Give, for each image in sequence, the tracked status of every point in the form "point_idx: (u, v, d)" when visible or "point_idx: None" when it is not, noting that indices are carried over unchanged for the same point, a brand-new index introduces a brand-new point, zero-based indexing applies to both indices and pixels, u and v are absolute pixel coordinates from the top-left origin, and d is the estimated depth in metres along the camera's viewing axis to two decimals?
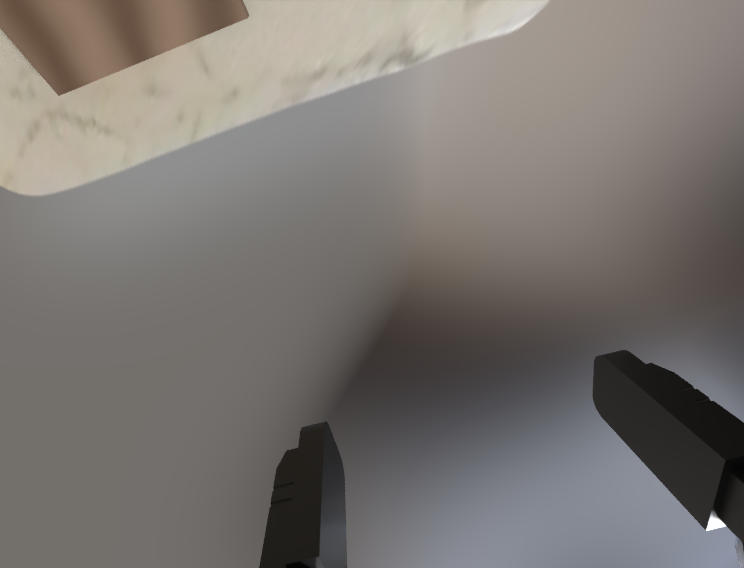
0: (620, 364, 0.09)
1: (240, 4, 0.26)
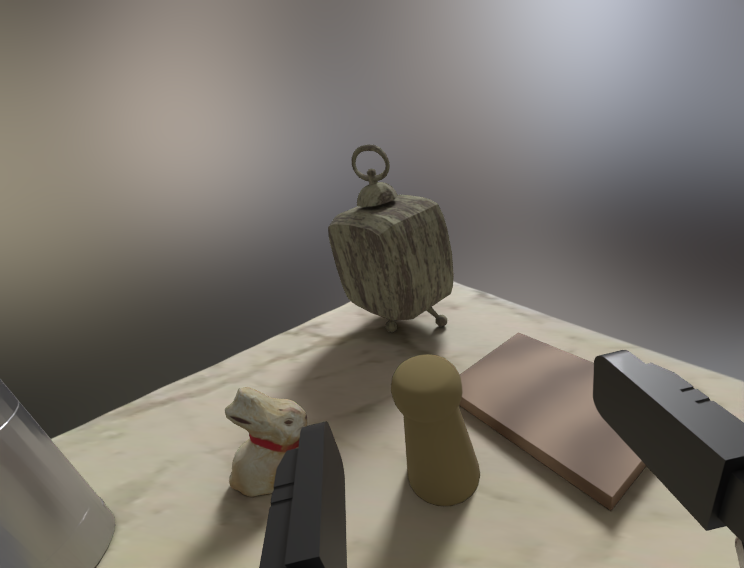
0: (620, 364, 0.09)
1: (514, 336, 0.42)
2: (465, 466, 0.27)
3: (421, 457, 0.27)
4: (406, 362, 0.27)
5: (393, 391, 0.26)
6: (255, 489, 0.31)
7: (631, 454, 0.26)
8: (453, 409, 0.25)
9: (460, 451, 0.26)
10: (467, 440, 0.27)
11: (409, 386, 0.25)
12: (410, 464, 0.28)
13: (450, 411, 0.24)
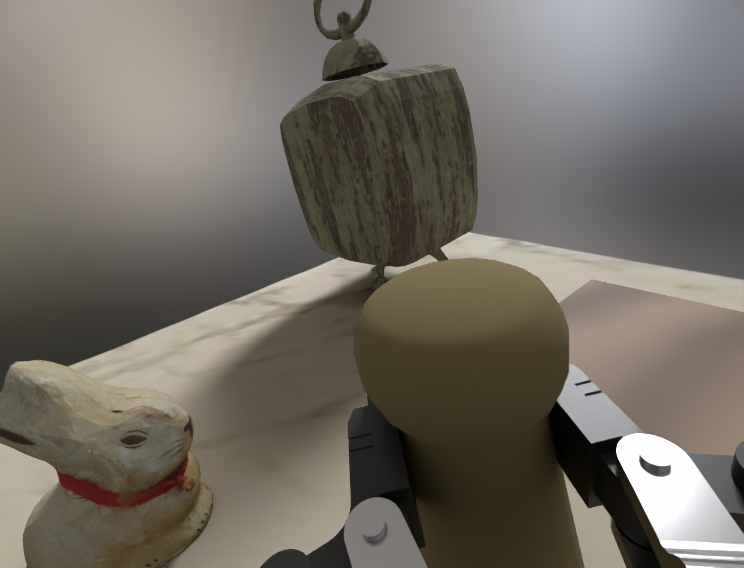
0: None
1: (586, 284, 0.25)
2: (563, 563, 0.10)
3: (443, 542, 0.09)
4: (398, 276, 0.10)
5: (357, 350, 0.08)
6: None
7: None
8: (552, 403, 0.07)
9: (555, 523, 0.09)
10: (565, 488, 0.10)
11: (405, 328, 0.07)
12: None
13: (543, 409, 0.07)
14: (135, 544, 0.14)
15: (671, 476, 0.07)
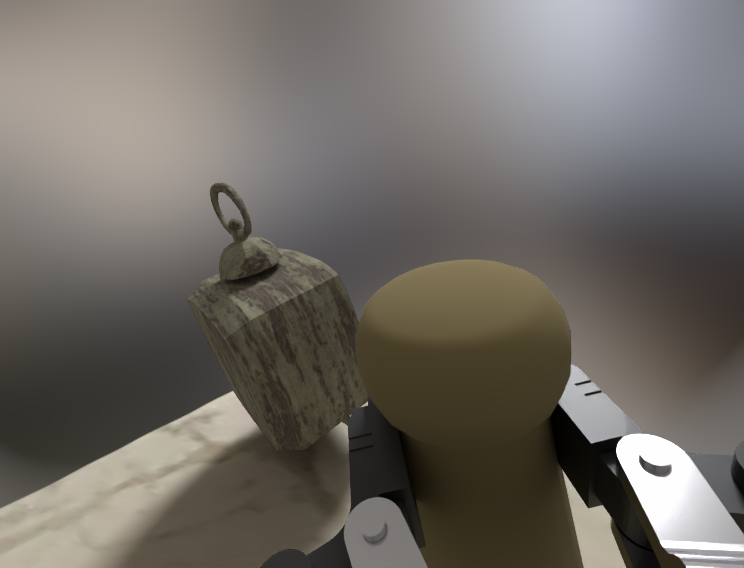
0: None
1: None
2: (563, 565, 0.10)
3: (443, 544, 0.09)
4: (399, 277, 0.10)
5: (358, 351, 0.08)
6: None
7: None
8: (553, 405, 0.07)
9: (555, 525, 0.09)
10: (565, 491, 0.10)
11: (407, 328, 0.07)
12: None
13: (545, 412, 0.07)
14: None
15: (671, 476, 0.07)
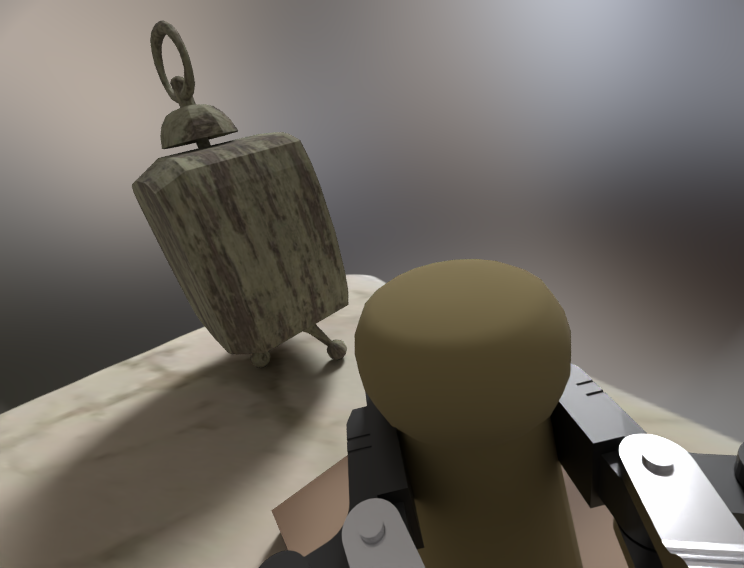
0: None
1: None
2: (563, 565, 0.10)
3: (442, 544, 0.09)
4: (399, 277, 0.10)
5: (358, 350, 0.08)
6: None
7: None
8: (553, 405, 0.07)
9: (555, 526, 0.09)
10: (565, 491, 0.10)
11: (406, 328, 0.07)
12: None
13: (545, 411, 0.07)
14: None
15: (674, 476, 0.07)
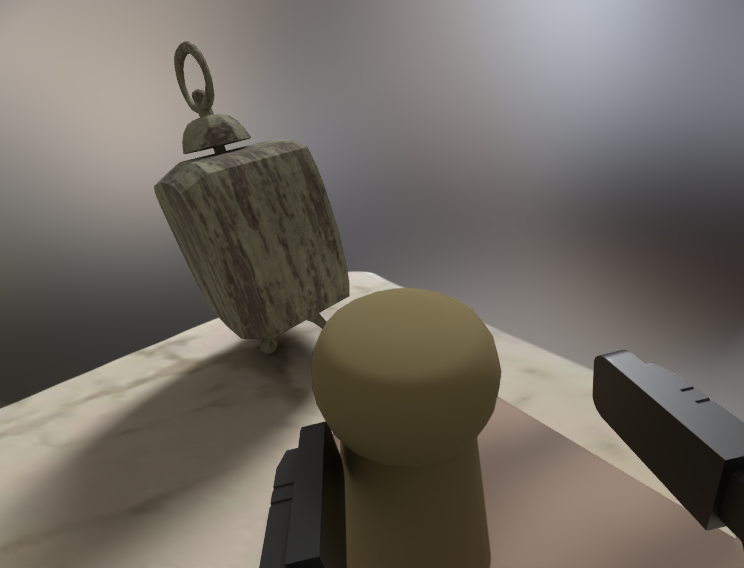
0: (620, 364, 0.09)
1: None
2: (470, 557, 0.11)
3: (370, 535, 0.11)
4: (360, 300, 0.10)
5: (313, 369, 0.09)
6: None
7: None
8: (475, 436, 0.09)
9: (467, 527, 0.11)
10: (482, 496, 0.12)
11: (356, 360, 0.08)
12: None
13: (466, 442, 0.09)
14: None
15: None
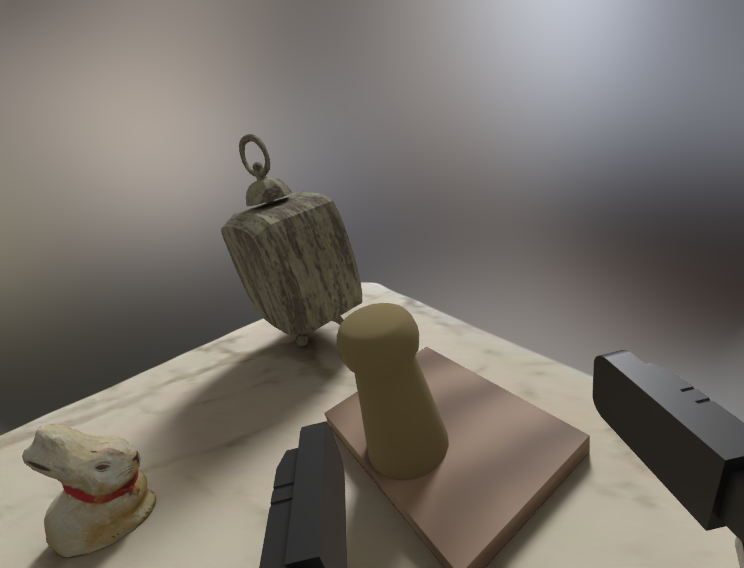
0: (620, 364, 0.09)
1: (420, 351, 0.36)
2: (426, 432, 0.23)
3: (374, 422, 0.23)
4: (355, 311, 0.23)
5: (337, 342, 0.22)
6: (67, 549, 0.26)
7: (500, 511, 0.20)
8: (406, 360, 0.21)
9: (420, 413, 0.23)
10: (430, 402, 0.23)
11: (353, 333, 0.21)
12: (366, 433, 0.24)
13: (402, 362, 0.21)
14: (105, 524, 0.26)
15: None
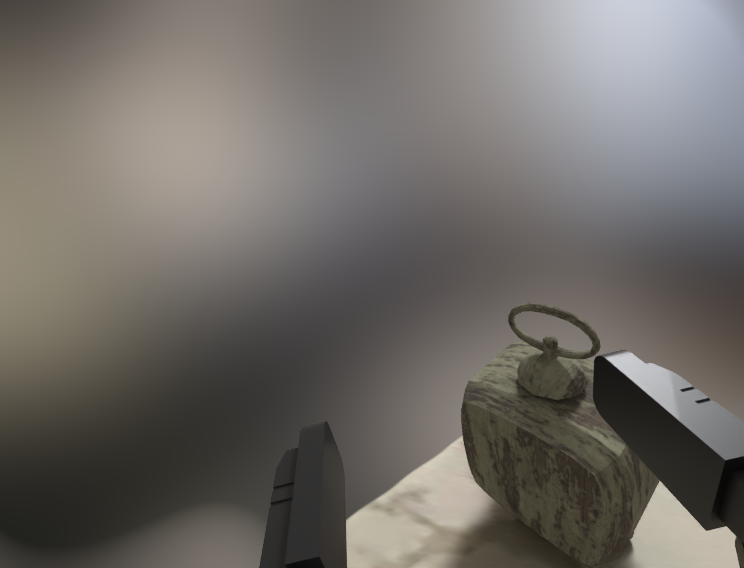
0: (620, 364, 0.09)
1: None
2: None
3: None
4: None
5: None
6: None
7: None
8: None
9: None
10: None
11: None
12: None
13: None
14: None
15: None
